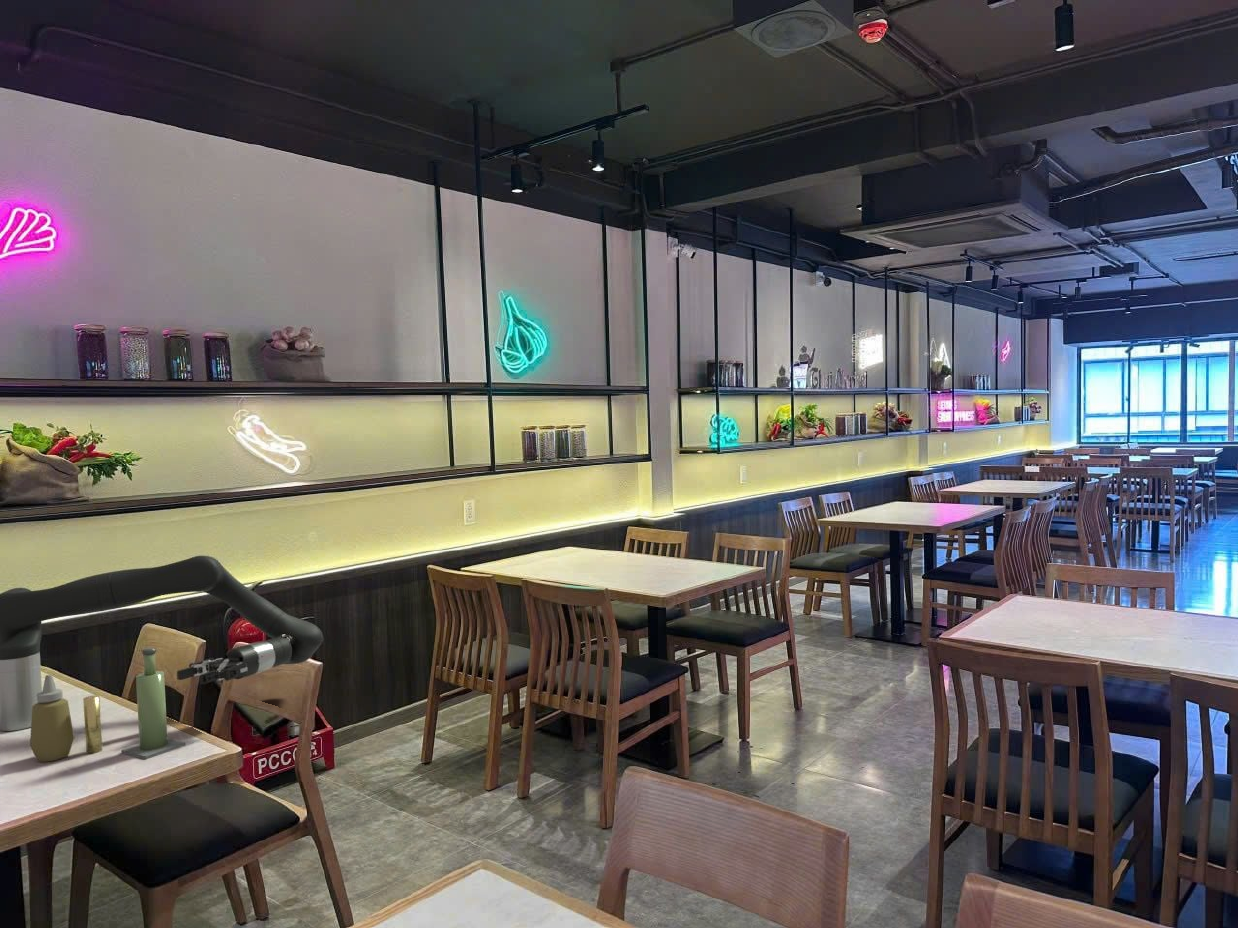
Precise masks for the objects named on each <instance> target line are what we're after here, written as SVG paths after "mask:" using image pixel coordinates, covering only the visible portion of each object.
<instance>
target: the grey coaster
mask: <svg viewBox="0 0 1238 928" xmlns="http://www.w3.org/2000/svg"><path fill="white" fill-rule="evenodd" d="M167 741H168V744H167V745H166V746H164V747H162V748H159V749H154V750H141V749H140V744H139V743H138V744H135V745H131V746H129V747H127V748H123V749H121V750H120V752H121V754H123V755H129V756H133V757H135V758H139V759H140V758H141V759H143V760H148V759H150V758H153V757H156V756H158V755H161V754H164V753H167V752H171V751H172V750H175V749H178V748H180V747H183V746H186V742H185V741H181V740H178V739H177V740H176V739H172V738H170V737H169V738H168V737H167Z"/></svg>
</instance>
